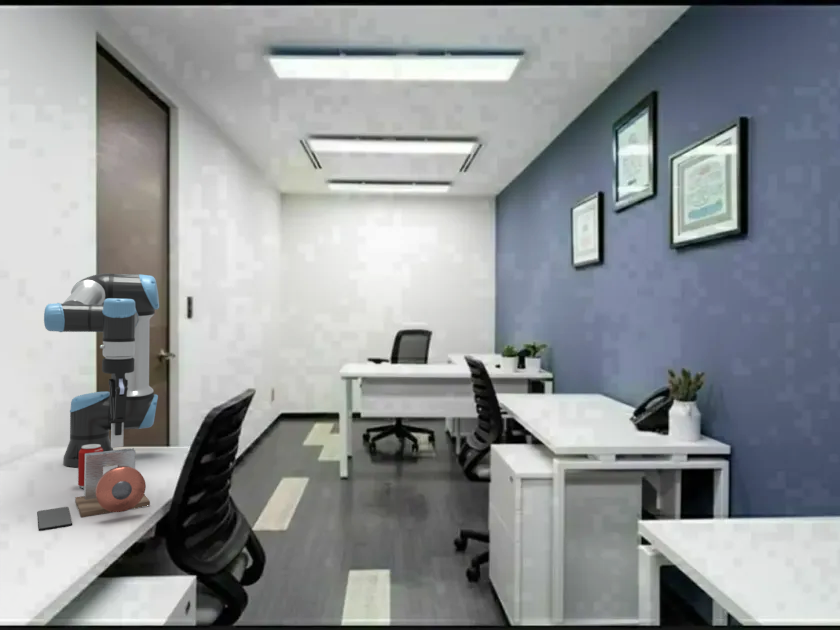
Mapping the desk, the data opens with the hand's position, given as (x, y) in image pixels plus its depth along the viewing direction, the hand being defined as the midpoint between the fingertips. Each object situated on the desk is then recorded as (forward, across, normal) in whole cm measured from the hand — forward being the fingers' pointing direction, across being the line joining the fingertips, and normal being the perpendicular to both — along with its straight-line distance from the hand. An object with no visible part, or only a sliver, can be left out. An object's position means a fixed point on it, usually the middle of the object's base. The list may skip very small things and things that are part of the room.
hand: (117, 446), depth 152 cm
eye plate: (+17, -9, 0) cm, 19 cm away
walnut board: (+17, -4, 0) cm, 17 cm away
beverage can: (+17, -24, -3) cm, 30 cm away
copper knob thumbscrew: (+14, +2, 0) cm, 15 cm away
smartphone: (+17, 0, -14) cm, 22 cm away
